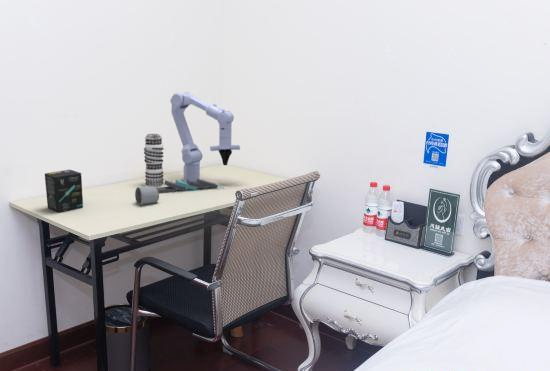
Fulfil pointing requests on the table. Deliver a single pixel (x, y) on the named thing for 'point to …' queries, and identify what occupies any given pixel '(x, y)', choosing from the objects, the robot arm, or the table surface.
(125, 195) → the table surface
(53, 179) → the tampon box
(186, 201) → the table surface
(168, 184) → the black domino
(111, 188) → the table surface
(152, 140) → the decorative candle
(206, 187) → the black domino
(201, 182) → the black domino
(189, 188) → the teal domino
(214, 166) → the table surface
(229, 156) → the robot arm
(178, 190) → the sage board
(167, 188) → the black domino
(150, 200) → the grey cylinder
